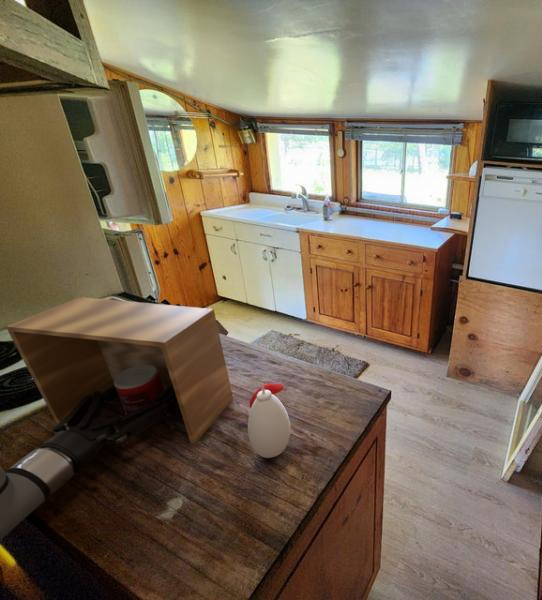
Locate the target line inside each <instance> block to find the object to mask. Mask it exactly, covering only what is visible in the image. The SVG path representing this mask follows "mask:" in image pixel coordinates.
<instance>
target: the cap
mask: <svg viewBox="0 0 542 600" xmlns="http://www.w3.org/2000/svg"><path fill="white" fill-rule="evenodd" d="M263 385H264V390H269V391H271V394H273V395H274V396H275V395H276V394H279V393H280V392H282V391H283V390H284V389H285V386H284V385H283V384H281V383H271V382H269V383H266V384H263ZM260 391H262V386H260V387H258V388H257V389H256V390H255V391H254V393H253V394H252V395H251V398H250V400H249V408H250V409H251V407H252V405H253V403H254V401H255V399H256V398H257V394H258V393H259V392H260Z"/></svg>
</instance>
